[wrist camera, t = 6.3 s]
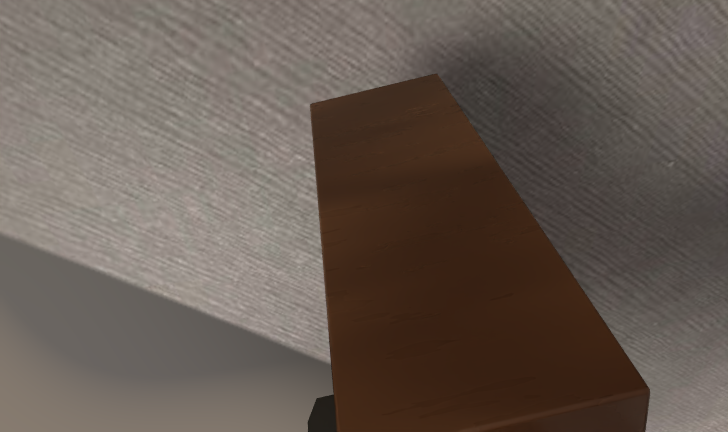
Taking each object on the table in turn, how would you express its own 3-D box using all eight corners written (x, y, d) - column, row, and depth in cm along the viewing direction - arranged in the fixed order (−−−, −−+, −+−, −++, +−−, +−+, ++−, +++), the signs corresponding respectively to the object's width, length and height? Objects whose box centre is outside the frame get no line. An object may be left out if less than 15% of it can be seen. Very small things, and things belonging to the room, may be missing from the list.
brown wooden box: (388, 384, 18) (456, 754, 11) (309, 103, 13) (338, 462, 5) (477, 363, 18) (609, 720, 11) (437, 72, 13) (653, 390, 5)
